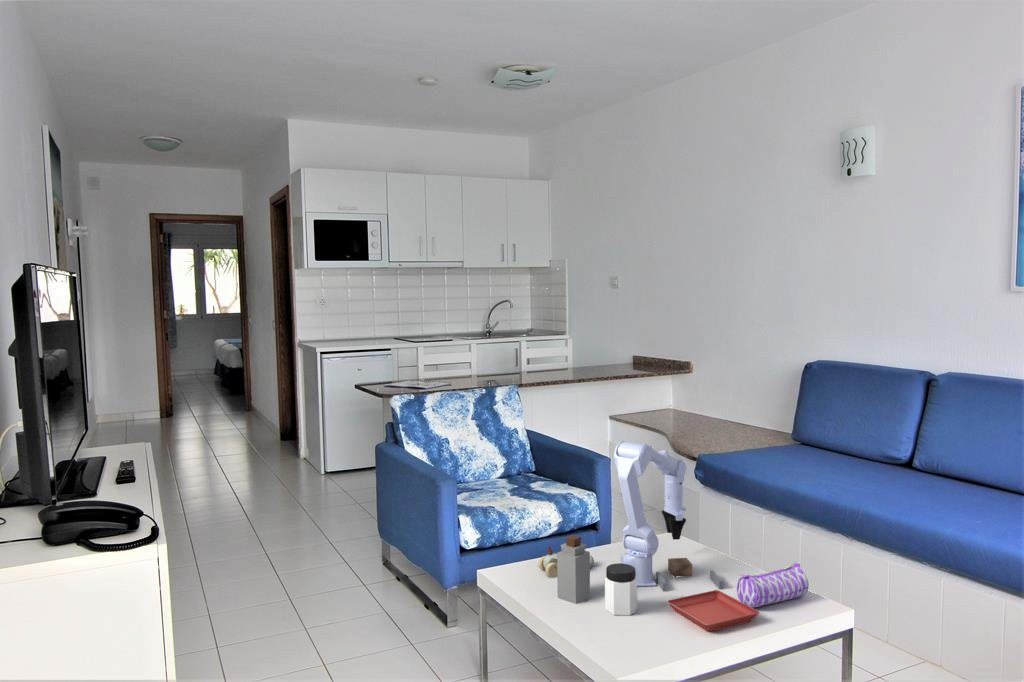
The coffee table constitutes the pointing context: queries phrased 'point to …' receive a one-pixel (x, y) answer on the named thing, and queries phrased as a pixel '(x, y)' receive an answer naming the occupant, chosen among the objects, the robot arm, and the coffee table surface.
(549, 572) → the toy dog
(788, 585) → the pencil case
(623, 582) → the jar
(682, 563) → the walnut block
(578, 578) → the perfume bottle
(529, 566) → the coffee table surface
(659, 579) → the lane
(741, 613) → the plant saucer
